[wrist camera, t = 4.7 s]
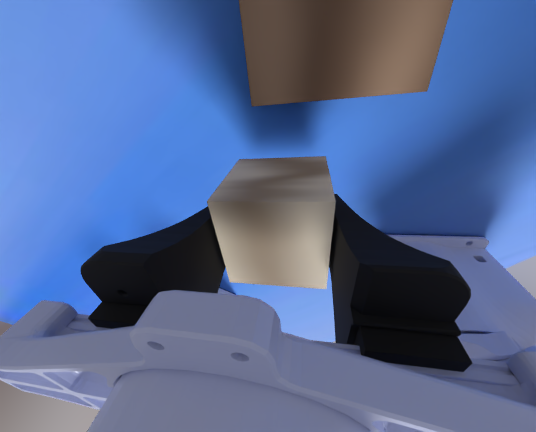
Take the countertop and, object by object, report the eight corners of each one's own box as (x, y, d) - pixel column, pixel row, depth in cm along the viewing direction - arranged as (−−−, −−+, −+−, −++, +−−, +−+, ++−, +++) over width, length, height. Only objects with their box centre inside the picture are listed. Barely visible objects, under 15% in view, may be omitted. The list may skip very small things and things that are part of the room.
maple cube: (325, 156, 12) (335, 201, 8) (320, 227, 14) (326, 289, 10) (239, 159, 13) (206, 201, 8) (250, 226, 15) (229, 282, 11)
